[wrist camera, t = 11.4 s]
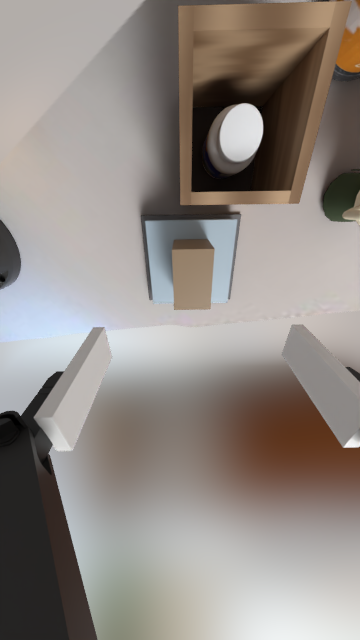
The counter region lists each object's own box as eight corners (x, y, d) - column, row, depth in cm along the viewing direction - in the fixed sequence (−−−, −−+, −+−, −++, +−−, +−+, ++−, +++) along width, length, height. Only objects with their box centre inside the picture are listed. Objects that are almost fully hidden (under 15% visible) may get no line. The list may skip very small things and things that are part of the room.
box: (180, 203, 29) (180, 205, 18) (179, 95, 23) (178, 5, 12) (255, 202, 29) (299, 203, 18) (273, 93, 23) (352, 0, 12)
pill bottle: (197, 135, 25) (205, 102, 17) (240, 120, 24) (270, 78, 16) (205, 185, 28) (215, 178, 19) (244, 172, 27) (272, 160, 19)
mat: (150, 299, 37) (149, 300, 37) (141, 215, 30) (141, 215, 29) (229, 298, 37) (229, 299, 36) (240, 214, 30) (241, 214, 29)
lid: (154, 297, 36) (147, 325, 28) (147, 219, 30) (135, 226, 22) (224, 296, 36) (236, 324, 28) (233, 218, 29) (252, 224, 21)
